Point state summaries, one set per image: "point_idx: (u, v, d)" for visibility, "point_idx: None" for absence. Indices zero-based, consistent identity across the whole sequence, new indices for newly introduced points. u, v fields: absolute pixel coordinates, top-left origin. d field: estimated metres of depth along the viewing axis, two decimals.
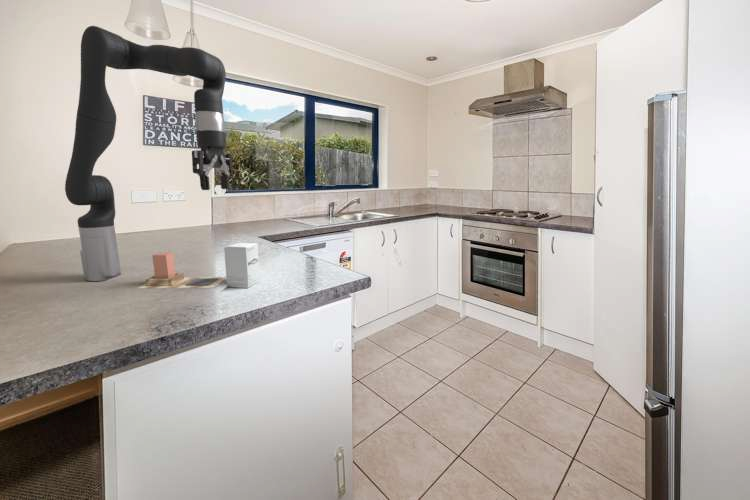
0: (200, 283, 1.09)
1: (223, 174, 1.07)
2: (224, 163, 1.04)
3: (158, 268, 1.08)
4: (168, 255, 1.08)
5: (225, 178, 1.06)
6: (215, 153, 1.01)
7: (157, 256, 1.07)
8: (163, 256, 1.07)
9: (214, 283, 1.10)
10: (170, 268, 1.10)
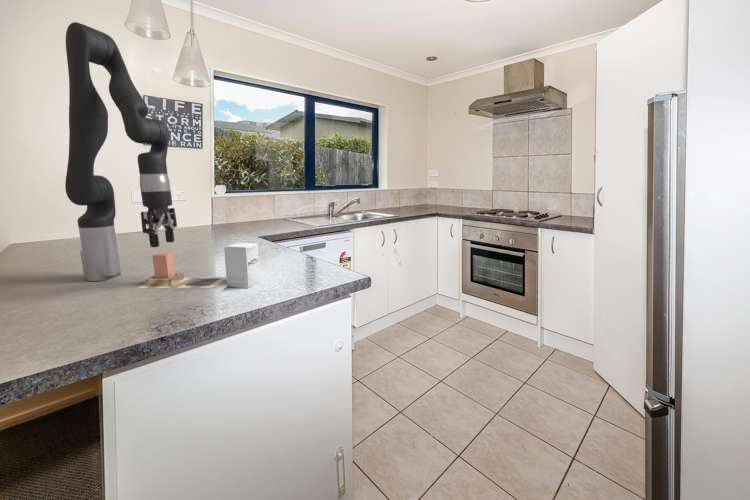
0: (200, 283, 1.09)
1: None
2: None
3: (158, 268, 1.08)
4: (168, 255, 1.08)
5: None
6: None
7: (157, 256, 1.07)
8: (163, 256, 1.07)
9: (214, 283, 1.10)
10: (170, 268, 1.10)
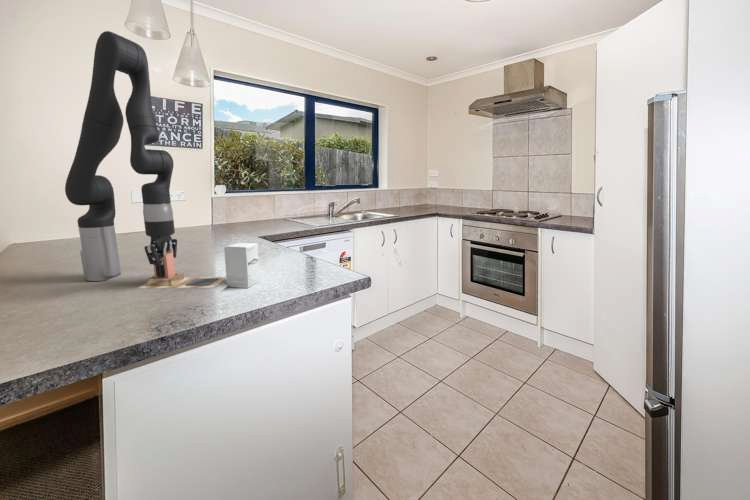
0: (200, 283, 1.09)
1: None
2: None
3: None
4: (168, 255, 1.08)
5: None
6: None
7: None
8: None
9: (214, 283, 1.10)
10: (170, 268, 1.10)
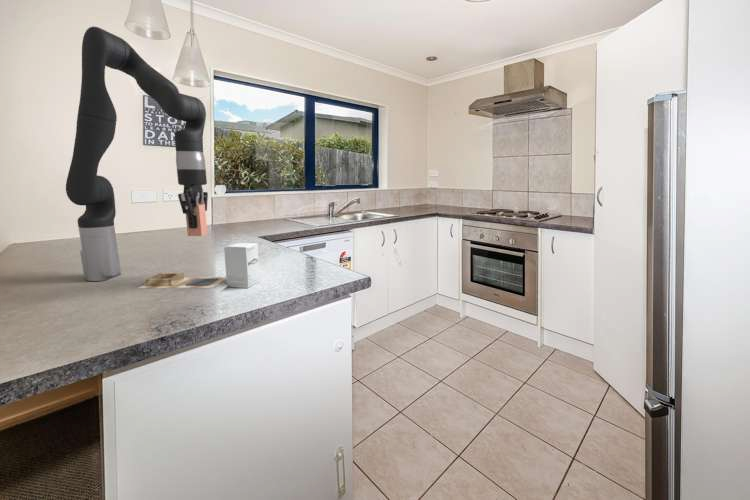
0: (200, 283, 1.09)
1: None
2: None
3: None
4: (200, 206, 1.06)
5: None
6: None
7: None
8: None
9: (214, 283, 1.10)
10: (202, 219, 1.07)
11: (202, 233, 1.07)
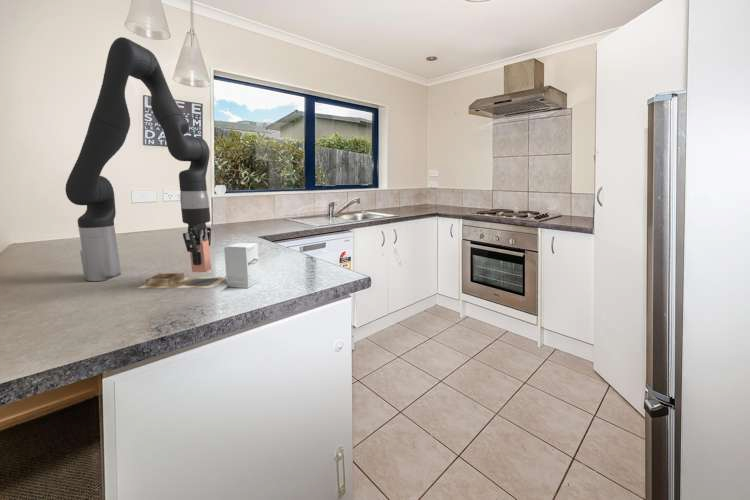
0: (200, 283, 1.09)
1: None
2: None
3: None
4: (204, 243, 1.08)
5: None
6: None
7: None
8: None
9: (214, 283, 1.10)
10: (206, 255, 1.09)
11: (206, 269, 1.09)
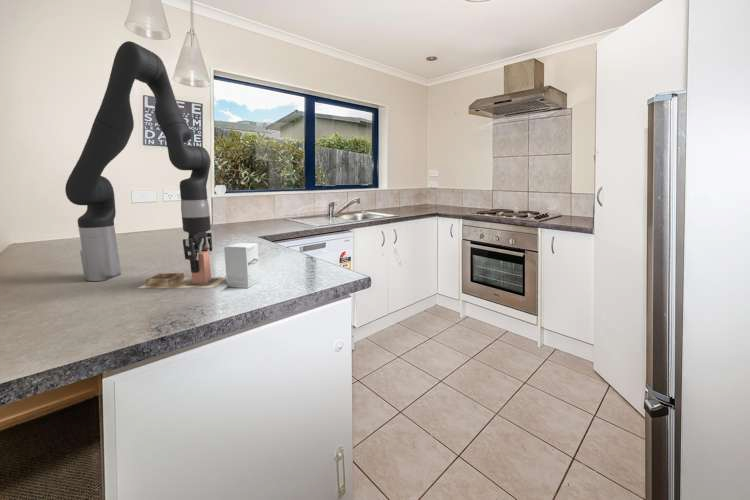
0: (200, 283, 1.09)
1: None
2: None
3: None
4: (205, 254, 1.09)
5: None
6: None
7: None
8: (200, 255, 1.07)
9: (214, 283, 1.10)
10: (207, 266, 1.10)
11: (206, 280, 1.10)
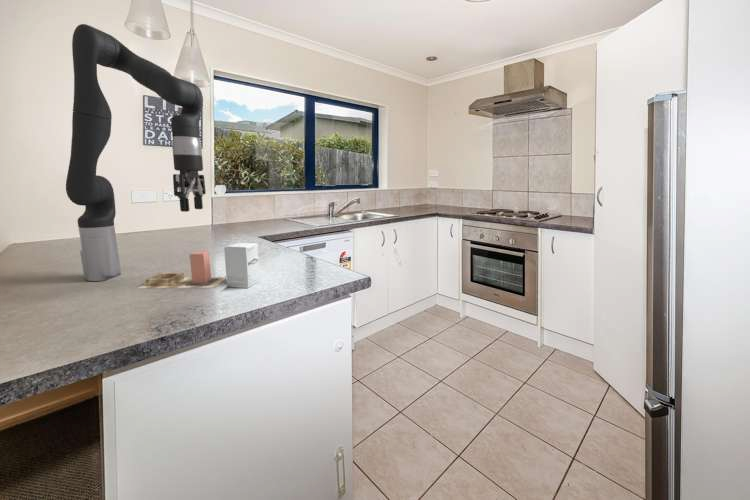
0: (200, 283, 1.09)
1: None
2: None
3: (195, 267, 1.08)
4: (205, 254, 1.09)
5: None
6: None
7: (194, 255, 1.07)
8: (200, 255, 1.07)
9: (214, 283, 1.10)
10: (207, 266, 1.10)
11: (206, 280, 1.10)
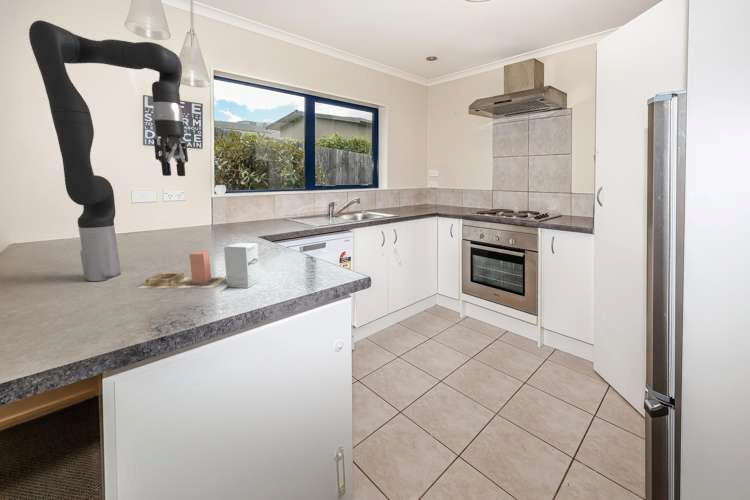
0: (200, 283, 1.09)
1: None
2: None
3: (195, 267, 1.08)
4: (205, 254, 1.09)
5: None
6: None
7: (194, 255, 1.07)
8: (200, 255, 1.07)
9: (214, 283, 1.10)
10: (207, 266, 1.10)
11: (206, 280, 1.10)
